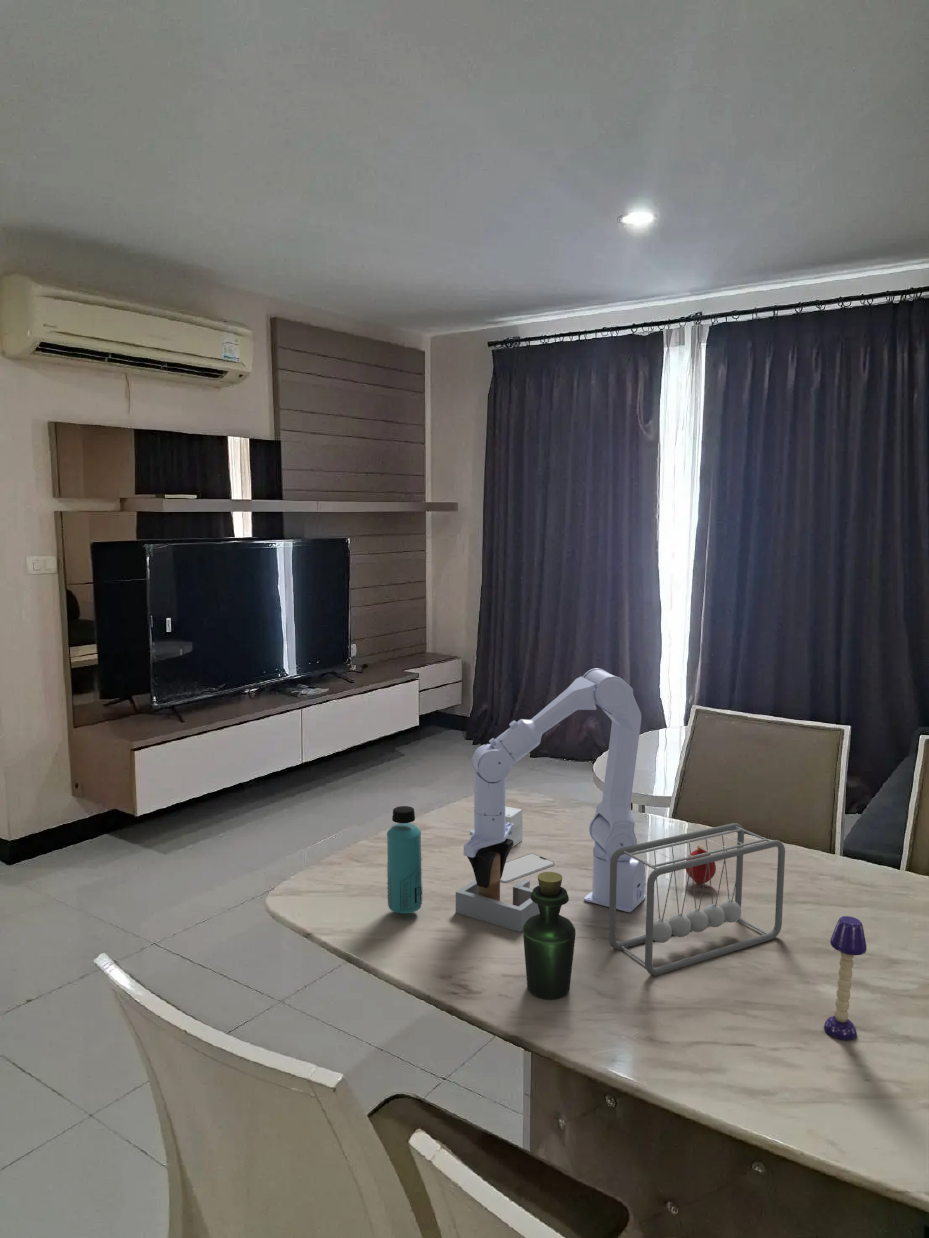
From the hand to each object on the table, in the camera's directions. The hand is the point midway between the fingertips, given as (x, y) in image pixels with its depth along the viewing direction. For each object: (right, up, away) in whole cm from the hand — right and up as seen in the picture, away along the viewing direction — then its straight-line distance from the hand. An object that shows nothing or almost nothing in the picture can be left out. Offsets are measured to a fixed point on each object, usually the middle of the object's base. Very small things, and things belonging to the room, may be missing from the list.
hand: (489, 881), depth 159 cm
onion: (+42, -4, +12) cm, 44 cm away
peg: (0, -4, 0) cm, 4 cm away
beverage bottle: (-16, -6, -1) cm, 17 cm away
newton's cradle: (+35, -7, -12) cm, 38 cm away
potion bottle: (+8, -9, -26) cm, 29 cm away
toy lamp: (+49, -10, -38) cm, 62 cm away
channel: (+3, -5, 0) cm, 6 cm away
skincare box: (+5, -2, +34) cm, 35 cm away
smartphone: (+7, -4, +20) cm, 21 cm away
